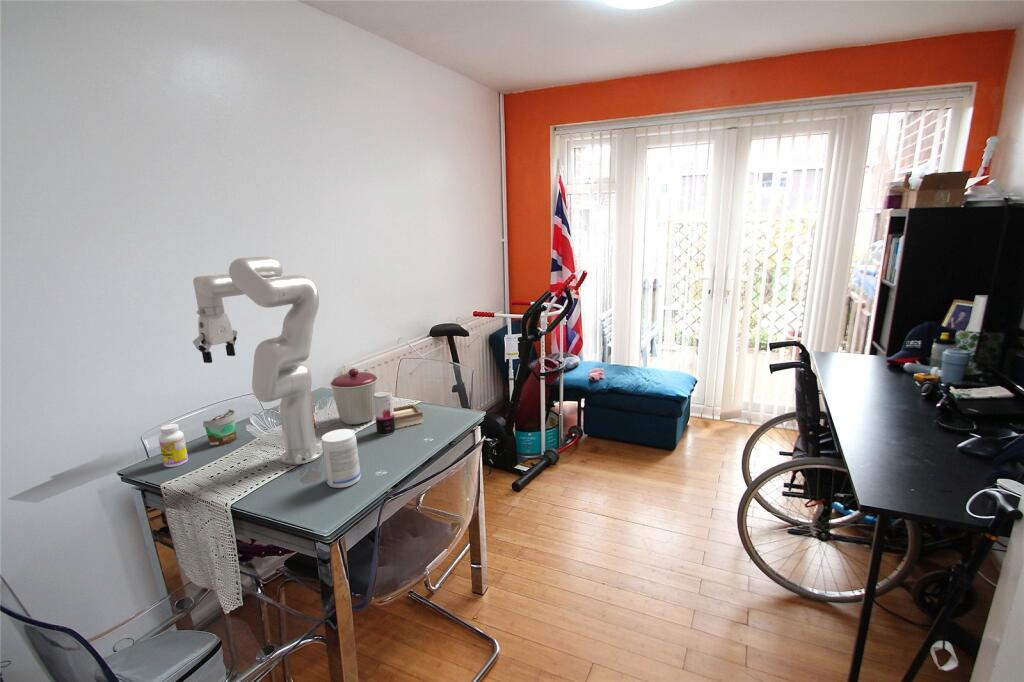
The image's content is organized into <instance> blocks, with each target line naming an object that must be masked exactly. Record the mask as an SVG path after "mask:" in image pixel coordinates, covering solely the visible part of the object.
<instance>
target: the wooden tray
mask: <svg viewBox="0 0 1024 682" xmlns="http://www.w3.org/2000/svg"><path fill="white" fill-rule="evenodd" d="M393 410H394V422H395V430H396V429H400V428H401V429H402V428H405V426H406V427H410V425H411V426H415V425H414V424H416V425H420V424H419V423H421V424H424V417H423V416H424V415H423V412H422V411H421V409H420V408H419V407H418V406H417V405H416V404H415V403H413V404H409V405H403V406H398V407H393Z"/></svg>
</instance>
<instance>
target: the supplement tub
mask: <svg viewBox="0 0 1024 682" xmlns="http://www.w3.org/2000/svg"><path fill="white" fill-rule="evenodd" d="M356 436H357V435H356V432H355V431H354V430H353V429H349V428H340V429H334V430H330V431H328V432H326V433H325V434H322V436H321V438H320V439H321V448H322V456H323V463H324V464H323V465H324V470H325V479H326V483H327V485H328V486H329V487H331V488H336V489H341V488H342V489H343V488H347V487H348V488H349V487H351V486H353V485H354V484H356V483H357V482H358V481H359V480H360V479H361V476H362V475H361V467H360V466H361V465H360V459H359V450H358V444H357V443H358V442H357V437H356Z"/></svg>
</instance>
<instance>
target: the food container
mask: <svg viewBox="0 0 1024 682" xmlns="http://www.w3.org/2000/svg"><path fill="white" fill-rule="evenodd" d="M237 418H238V415H237V413H236V411H234V410H233V409H228V412H225V413H224V414H220V415H217V416H215V417H214V418H212V419H211V420H204V421H203V423H202V426H203V428H205V431H206V435H207V436H206V437H207V439H208V443H209V446H210V447H211V446H216V447H221V445H222V446H226V445H229V444H231V443H233V442H235V441H236V440H237V431H236V430H237V429H236V427H237V426H236V425H237V424H236V419H237ZM225 444H226V445H225Z"/></svg>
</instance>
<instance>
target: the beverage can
mask: <svg viewBox="0 0 1024 682" xmlns="http://www.w3.org/2000/svg"><path fill="white" fill-rule="evenodd" d="M374 407H375V416H374V418H375V424H376V425H375V426H376V433H377V434H378V435H379V436H389V435H392V434H394V433H395V431H396V429H395V422H394V410H393V408H394V399H393V393H392V392H391V391H390V390H381V391H377V392H376V393H375V394H374Z"/></svg>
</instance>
